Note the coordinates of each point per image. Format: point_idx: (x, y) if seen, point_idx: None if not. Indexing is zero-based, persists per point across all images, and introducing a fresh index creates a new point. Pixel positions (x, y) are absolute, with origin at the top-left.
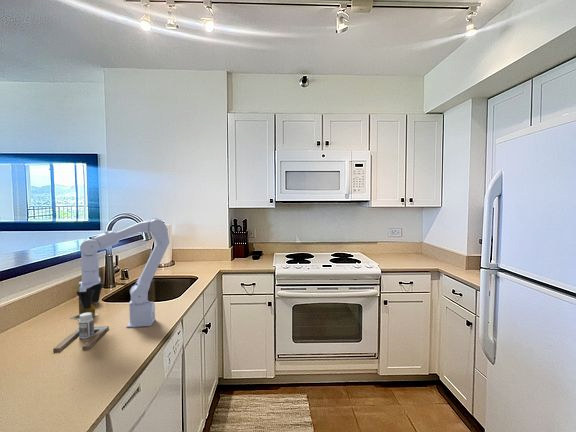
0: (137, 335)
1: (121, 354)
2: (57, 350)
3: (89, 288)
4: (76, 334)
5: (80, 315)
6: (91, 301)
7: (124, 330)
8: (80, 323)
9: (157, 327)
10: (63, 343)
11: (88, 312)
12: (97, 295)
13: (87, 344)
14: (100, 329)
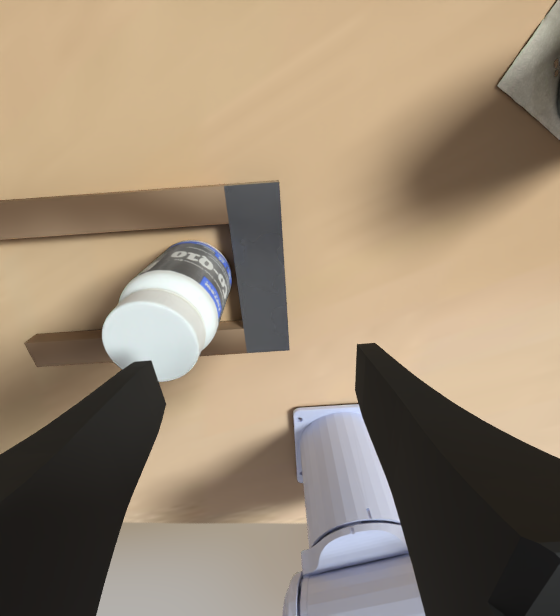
0: (206, 463)
1: None
2: None
3: (462, 494)
4: (176, 226)
5: (114, 317)
6: (138, 476)
7: (262, 409)
8: (119, 299)
9: (283, 495)
10: (28, 227)
11: (195, 346)
12: (382, 451)
13: (51, 354)
14: (240, 332)
